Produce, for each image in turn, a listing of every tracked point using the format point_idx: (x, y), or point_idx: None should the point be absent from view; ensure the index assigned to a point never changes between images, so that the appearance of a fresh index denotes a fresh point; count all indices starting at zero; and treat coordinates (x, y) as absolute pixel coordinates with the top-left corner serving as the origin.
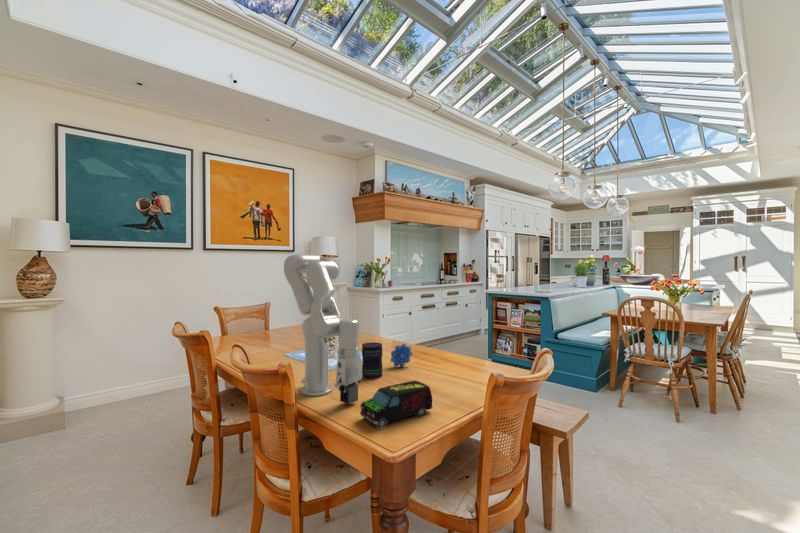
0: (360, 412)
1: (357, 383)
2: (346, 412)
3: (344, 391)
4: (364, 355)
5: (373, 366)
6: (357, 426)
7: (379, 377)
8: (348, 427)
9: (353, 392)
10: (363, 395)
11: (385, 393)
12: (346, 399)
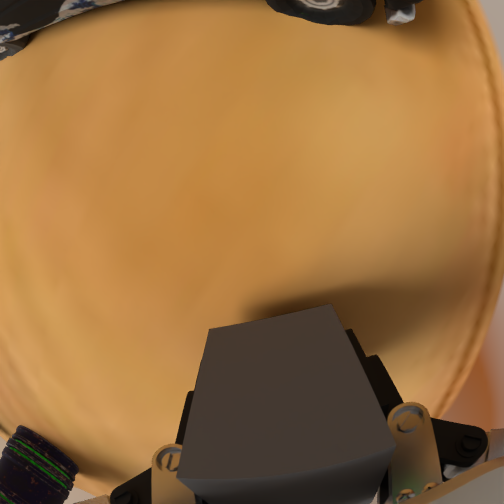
0: (413, 10)
1: (160, 487)
2: (400, 220)
3: (425, 411)
4: None
5: (26, 472)
6: (436, 2)
7: (24, 428)
8: (475, 39)
9: (286, 392)
10: (112, 386)
11: None
12: (360, 350)
